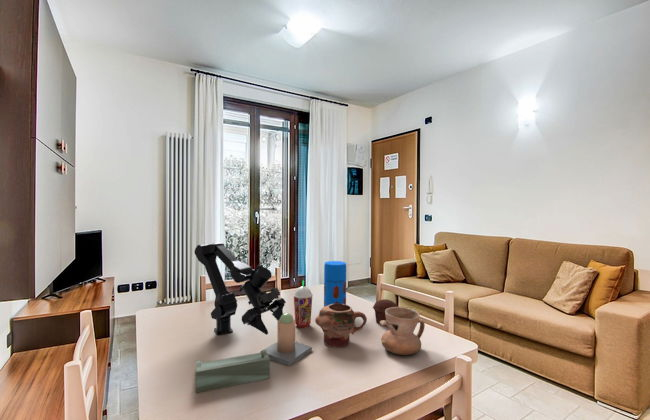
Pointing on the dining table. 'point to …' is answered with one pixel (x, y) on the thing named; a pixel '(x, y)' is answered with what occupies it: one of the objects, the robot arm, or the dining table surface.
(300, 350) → the slate pad
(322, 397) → the dining table surface
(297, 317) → the smoothie
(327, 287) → the thermos
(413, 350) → the ceramic jug
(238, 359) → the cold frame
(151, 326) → the dining table surface
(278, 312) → the robot arm
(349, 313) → the decorative planter
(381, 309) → the muffin
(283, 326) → the green ice cream cone
